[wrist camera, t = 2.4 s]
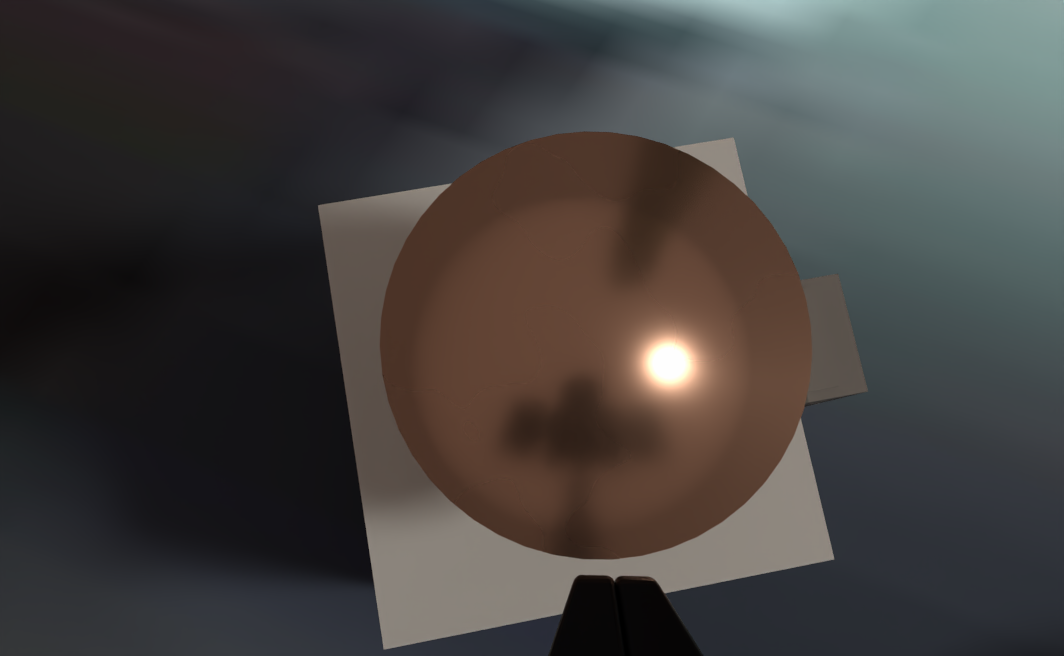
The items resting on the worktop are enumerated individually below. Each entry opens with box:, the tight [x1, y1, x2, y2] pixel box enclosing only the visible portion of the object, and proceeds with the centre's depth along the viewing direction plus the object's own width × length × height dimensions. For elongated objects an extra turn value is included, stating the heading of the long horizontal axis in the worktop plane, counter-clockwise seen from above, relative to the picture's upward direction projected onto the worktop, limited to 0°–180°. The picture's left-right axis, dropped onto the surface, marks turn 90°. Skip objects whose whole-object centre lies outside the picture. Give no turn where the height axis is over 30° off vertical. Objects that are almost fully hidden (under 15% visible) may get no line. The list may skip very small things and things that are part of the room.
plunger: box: [380, 132, 812, 560], centre depth 14 cm, size 6×6×7 cm
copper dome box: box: [318, 138, 868, 649], centre depth 19 cm, size 8×10×8 cm
